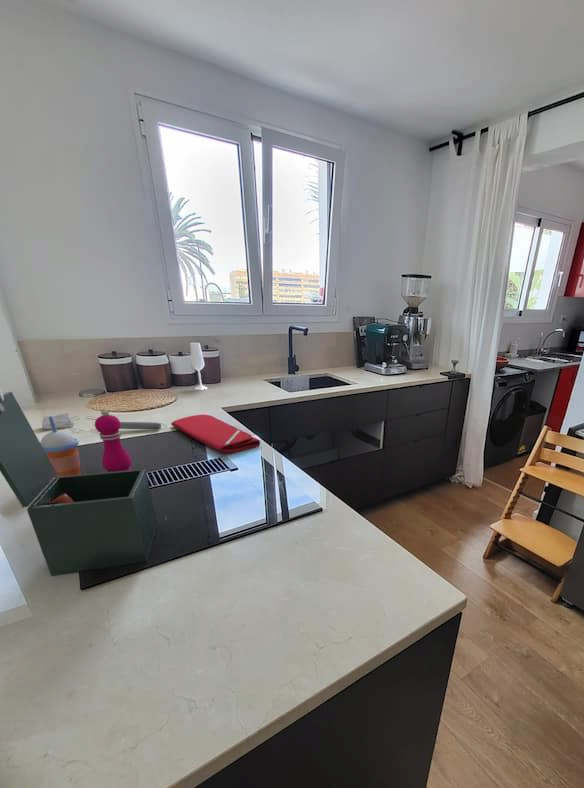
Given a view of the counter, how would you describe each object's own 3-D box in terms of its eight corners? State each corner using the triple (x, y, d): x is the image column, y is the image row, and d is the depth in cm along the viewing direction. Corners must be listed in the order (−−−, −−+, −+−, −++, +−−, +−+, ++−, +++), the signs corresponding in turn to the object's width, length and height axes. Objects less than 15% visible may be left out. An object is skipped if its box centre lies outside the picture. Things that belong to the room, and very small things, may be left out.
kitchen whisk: (165, 431, 150) (162, 415, 148) (66, 436, 144) (61, 419, 141) (168, 426, 156) (166, 411, 153) (73, 430, 149) (69, 414, 147)
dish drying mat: (209, 419, 166) (208, 410, 164) (261, 445, 140) (261, 435, 138) (171, 427, 155) (169, 418, 154) (220, 457, 129) (219, 446, 128)
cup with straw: (43, 478, 112) (23, 417, 105) (78, 467, 119) (62, 410, 112) (56, 487, 107) (36, 424, 100) (93, 475, 114) (76, 416, 107)
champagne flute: (201, 390, 212) (195, 344, 202) (192, 389, 214) (185, 343, 204) (210, 387, 217) (204, 343, 208) (200, 386, 219) (194, 342, 210)
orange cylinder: (99, 550, 81) (49, 504, 75) (103, 543, 83) (54, 498, 77) (111, 543, 81) (62, 497, 75) (114, 536, 84) (67, 491, 78)
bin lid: (11, 391, 73) (6, 392, 72) (-31, 411, 61) (-37, 413, 61) (57, 474, 80) (53, 475, 80) (28, 506, 69) (23, 507, 68)
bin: (157, 526, 91) (145, 468, 85) (147, 561, 79) (131, 497, 73) (75, 536, 87) (56, 476, 81) (51, 576, 75) (26, 509, 69)
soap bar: (48, 438, 150) (38, 426, 146) (46, 429, 154) (36, 418, 150) (76, 427, 153) (66, 415, 149) (74, 418, 157) (65, 407, 153)
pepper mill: (124, 469, 119) (108, 405, 111) (140, 474, 116) (125, 408, 108) (100, 478, 113) (82, 411, 105) (116, 483, 110) (99, 415, 102)
